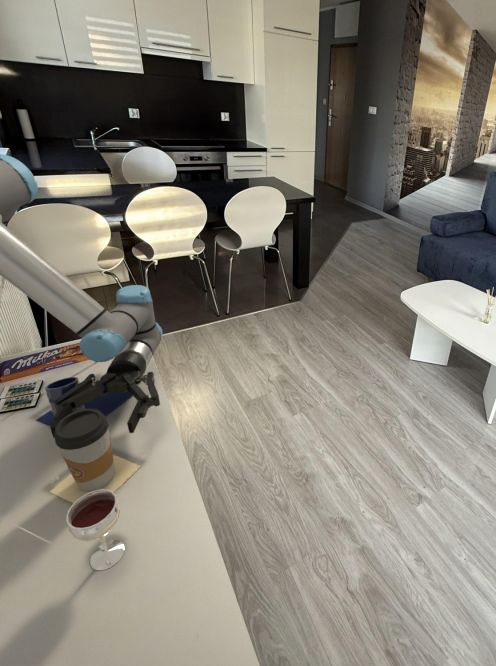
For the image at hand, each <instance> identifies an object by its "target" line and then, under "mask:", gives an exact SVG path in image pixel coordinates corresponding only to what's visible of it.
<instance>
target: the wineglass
mask: <svg viewBox="0 0 496 666" xmlns="http://www.w3.org/2000/svg"><path fill="white" fill-rule="evenodd" d="M120 513H121V508H120V503H119V502H118V498H117V495H116V494H115V492H112V491H110V490H104V489H101V490H95V491H92V492H90V493H87V494H85V495H84V496H82V497H81V498H79V499H78V500H77V501H76V502H75V503H72V505H71V506H70V507H69V509H68V510H67V513H66V515H65V516H66V517H65V518H66V524H67V525H68V530H69V532H70V534H71V535H72V537H73V538H74V539H76V540H78V541H80V542H92V541H96V540H99V541H100V543H101V544H100V545H99V546H97V548H96V549H95V550H94V551H93V552H92V553H91V556H90V560H89V563H90V564H89V565H90V567H91V568H92V569H93V570H95V571H105V570H108V569H110V568H112V567H113V566H114V565H116V564H117V563H118V562H119V561H120V560H121V559H122V557H123V555H124V553H125V544H124V542H123V541H122V540H120V539H111V540H107V541H106V538H105V536H106V535H107V534H108V533H110V532H111V531H112V529H114V527H115V526H116V524H117V523H118V520H119V517H120Z"/></svg>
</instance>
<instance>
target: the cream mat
mask: <svg viewBox="0 0 496 666" xmlns="http://www.w3.org/2000/svg"><path fill="white" fill-rule="evenodd" d="M113 459H114V467H115V473H114V476H113V478H112V480H111V481H110V482H109V483H108V484H107V485H106V486H104V487H102V488H101V489H104V490H110V491H112V492H114V493H116V492H117V491H118V490H119V489H120V488H121V487H122V486H123V485H124V484H125V483H126V482H127V481H128V480H129V479H130V478H131V477H132V476H133V475H134V474H136V472H137V471H138V470H139V469H140V468H142V466H141V465H139V464H138V463H135V462H132V461H130V460H127V459H125V458H123V457H120V456H118V455H115V454H113ZM101 489H98V490H101ZM90 492H92V491H84V490H82V489H80V488H79V487H78V485H77V483H76V481H75V480H74V478H73V476H72V474H71V473H70V474H69V475H68V476H67V477H65V478H64V479H63V480H62V481H60V482H59V483H57V485H56V486H54V487H53V489H51V490H49V493H51V494H53V495H55V496H57V497H59V498H61V499H63V500H65V501H67V502H69V503H72V504H74V503H75V502H76V501H77V500H78V499H79V498H81V497H82V496H84V495H85V494H87V493H90Z"/></svg>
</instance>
